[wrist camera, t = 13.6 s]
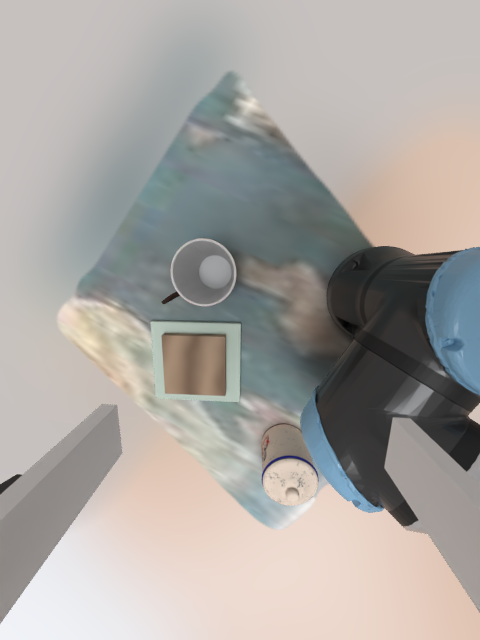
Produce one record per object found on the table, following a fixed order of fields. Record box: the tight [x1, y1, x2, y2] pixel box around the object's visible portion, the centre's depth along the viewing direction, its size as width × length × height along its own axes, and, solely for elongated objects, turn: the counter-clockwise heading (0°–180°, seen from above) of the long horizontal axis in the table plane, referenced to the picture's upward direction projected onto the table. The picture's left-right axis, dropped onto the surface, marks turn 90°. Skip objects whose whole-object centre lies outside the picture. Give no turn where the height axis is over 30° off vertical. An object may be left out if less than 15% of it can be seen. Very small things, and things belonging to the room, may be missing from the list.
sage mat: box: [151, 321, 241, 402], centre depth 43 cm, size 16×15×1 cm
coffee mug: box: [162, 238, 237, 306], centre depth 35 cm, size 12×9×10 cm
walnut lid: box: [161, 333, 226, 396], centre depth 42 cm, size 11×11×2 cm
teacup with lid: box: [262, 424, 318, 505], centre depth 41 cm, size 12×9×12 cm
